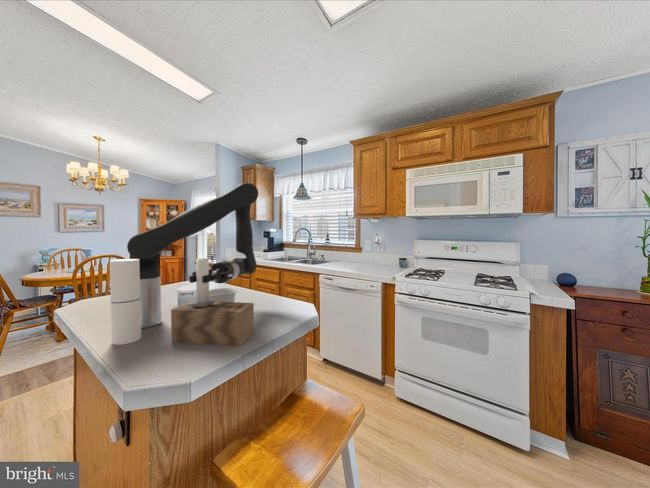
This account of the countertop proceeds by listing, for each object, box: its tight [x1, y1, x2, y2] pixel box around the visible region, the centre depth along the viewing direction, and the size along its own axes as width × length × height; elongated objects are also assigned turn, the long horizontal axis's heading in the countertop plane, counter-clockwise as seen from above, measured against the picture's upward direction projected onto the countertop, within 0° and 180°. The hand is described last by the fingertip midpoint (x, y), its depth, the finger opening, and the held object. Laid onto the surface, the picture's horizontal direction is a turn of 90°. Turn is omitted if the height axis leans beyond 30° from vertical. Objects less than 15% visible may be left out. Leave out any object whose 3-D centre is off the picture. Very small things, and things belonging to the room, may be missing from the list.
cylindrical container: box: [109, 258, 142, 346], centre depth 77 cm, size 7×7×25 cm
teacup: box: [209, 287, 238, 302], centre depth 101 cm, size 12×15×10 cm
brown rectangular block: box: [170, 300, 255, 346], centre depth 80 cm, size 22×10×10 cm, turn 84°
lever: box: [192, 257, 214, 307], centre depth 80 cm, size 4×5×15 cm
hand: (197, 279), depth 77 cm, fingers closed on lever, 3 cm apart
